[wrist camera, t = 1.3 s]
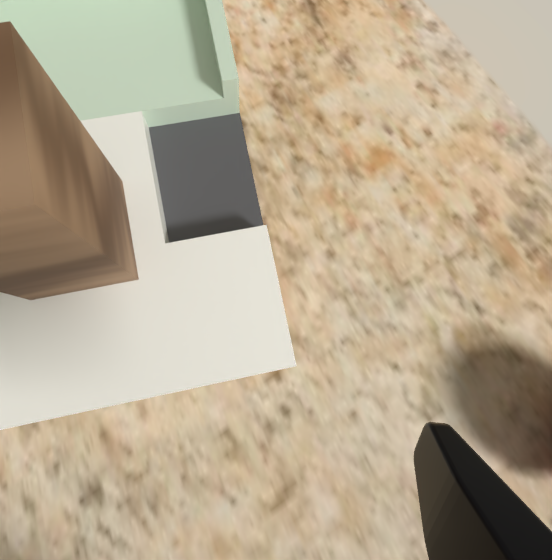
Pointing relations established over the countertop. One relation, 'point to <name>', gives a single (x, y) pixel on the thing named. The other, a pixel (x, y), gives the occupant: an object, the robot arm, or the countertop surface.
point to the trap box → (149, 216)
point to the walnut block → (54, 189)
